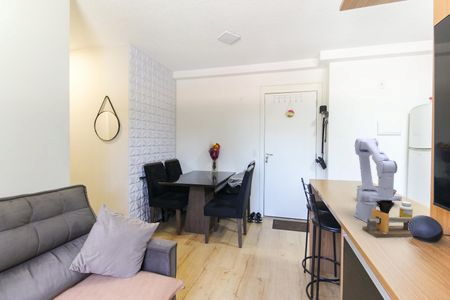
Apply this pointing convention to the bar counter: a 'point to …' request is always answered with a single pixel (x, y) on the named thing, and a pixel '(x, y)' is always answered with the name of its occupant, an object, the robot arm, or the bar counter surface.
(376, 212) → the collar
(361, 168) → the robot arm
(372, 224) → the pipe stand
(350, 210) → the bar counter surface
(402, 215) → the supplement bottle
